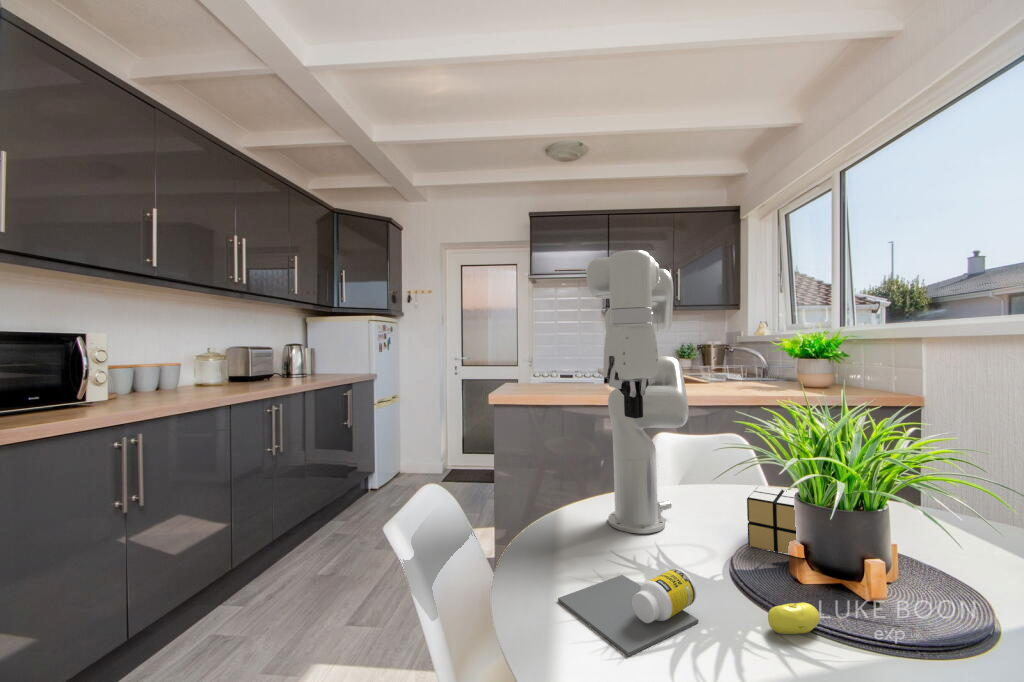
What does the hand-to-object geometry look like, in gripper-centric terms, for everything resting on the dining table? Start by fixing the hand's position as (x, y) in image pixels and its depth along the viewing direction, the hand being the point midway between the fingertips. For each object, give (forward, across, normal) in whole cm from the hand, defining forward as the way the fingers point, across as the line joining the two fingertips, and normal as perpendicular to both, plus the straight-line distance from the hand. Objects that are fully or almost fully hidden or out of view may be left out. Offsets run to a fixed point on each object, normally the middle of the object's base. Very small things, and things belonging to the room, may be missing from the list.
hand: (633, 416), depth 87 cm
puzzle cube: (+29, -30, +10) cm, 43 cm away
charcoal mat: (+27, +13, +10) cm, 32 cm away
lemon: (+28, -4, +27) cm, 39 cm away
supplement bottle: (+24, +4, +14) cm, 28 cm away
